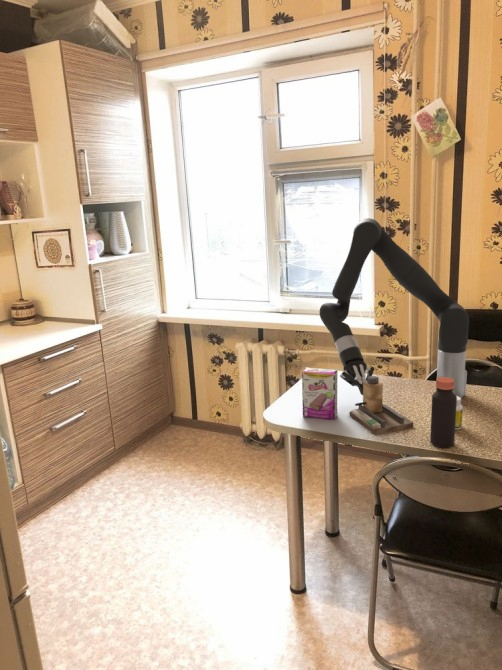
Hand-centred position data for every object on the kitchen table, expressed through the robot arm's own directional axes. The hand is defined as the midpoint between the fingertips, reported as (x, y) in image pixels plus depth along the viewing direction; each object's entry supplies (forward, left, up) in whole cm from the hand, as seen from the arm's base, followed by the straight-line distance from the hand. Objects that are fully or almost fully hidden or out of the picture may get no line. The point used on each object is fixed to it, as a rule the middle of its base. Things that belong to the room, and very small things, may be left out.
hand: (366, 394), depth 188 cm
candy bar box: (+16, -3, -6) cm, 17 cm away
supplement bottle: (-18, +22, -6) cm, 29 cm away
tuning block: (+2, +4, -4) cm, 6 cm away
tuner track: (0, +9, -6) cm, 11 cm away
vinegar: (-8, +30, -6) cm, 32 cm away
